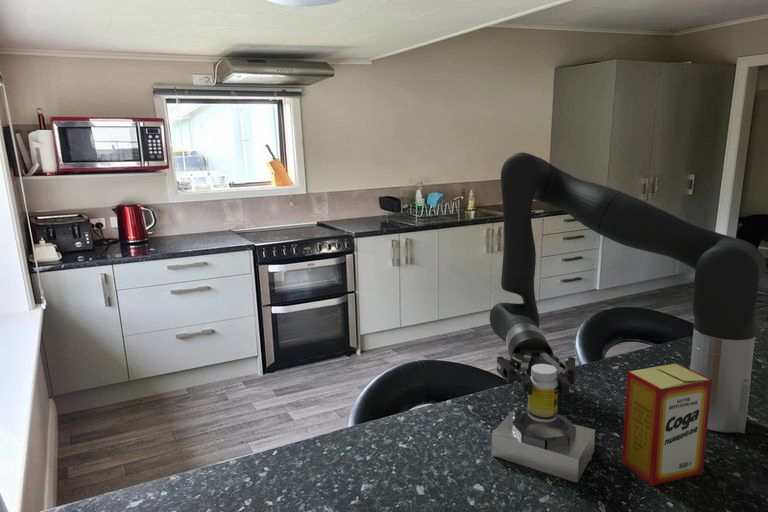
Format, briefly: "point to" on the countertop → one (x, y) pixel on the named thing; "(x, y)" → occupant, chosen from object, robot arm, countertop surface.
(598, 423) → the countertop surface
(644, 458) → the baking soda box
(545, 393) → the supplement bottle
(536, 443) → the octagon ring base plate
